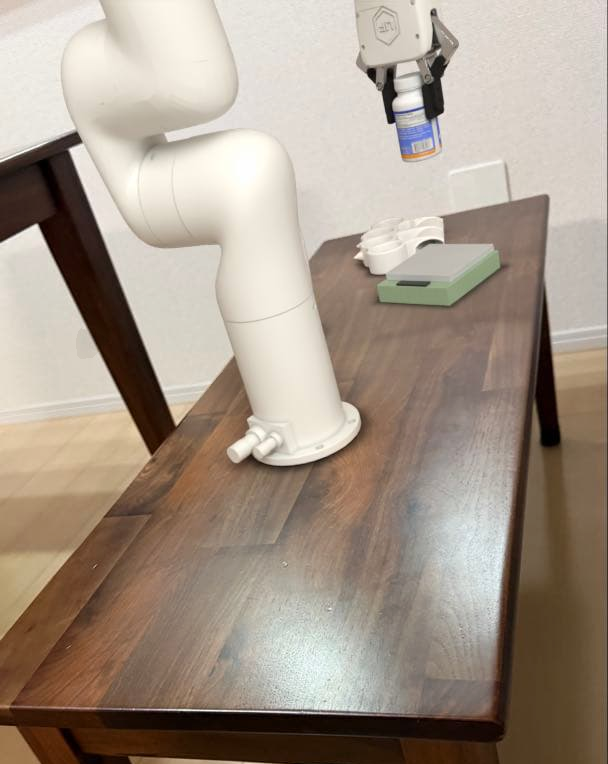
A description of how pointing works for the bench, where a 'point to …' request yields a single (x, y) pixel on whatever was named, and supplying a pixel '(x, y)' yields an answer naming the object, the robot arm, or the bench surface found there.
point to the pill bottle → (414, 120)
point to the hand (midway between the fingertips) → (415, 117)
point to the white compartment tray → (398, 241)
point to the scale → (439, 274)
